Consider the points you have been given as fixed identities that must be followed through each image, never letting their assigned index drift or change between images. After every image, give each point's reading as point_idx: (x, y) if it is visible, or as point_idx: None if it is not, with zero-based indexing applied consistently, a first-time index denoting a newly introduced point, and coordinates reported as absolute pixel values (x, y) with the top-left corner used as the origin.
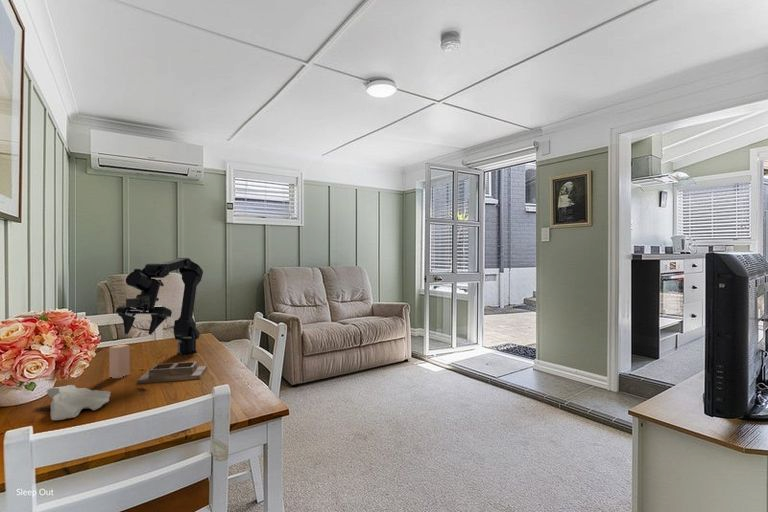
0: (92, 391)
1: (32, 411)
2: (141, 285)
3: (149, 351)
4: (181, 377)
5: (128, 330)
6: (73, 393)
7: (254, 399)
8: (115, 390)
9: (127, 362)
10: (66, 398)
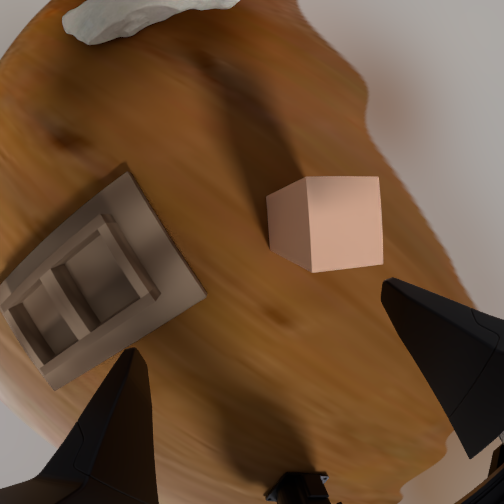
0: (122, 9)
1: None
2: None
3: (418, 438)
4: (21, 263)
5: (401, 321)
6: None
7: None
8: (146, 99)
9: (281, 243)
10: None
